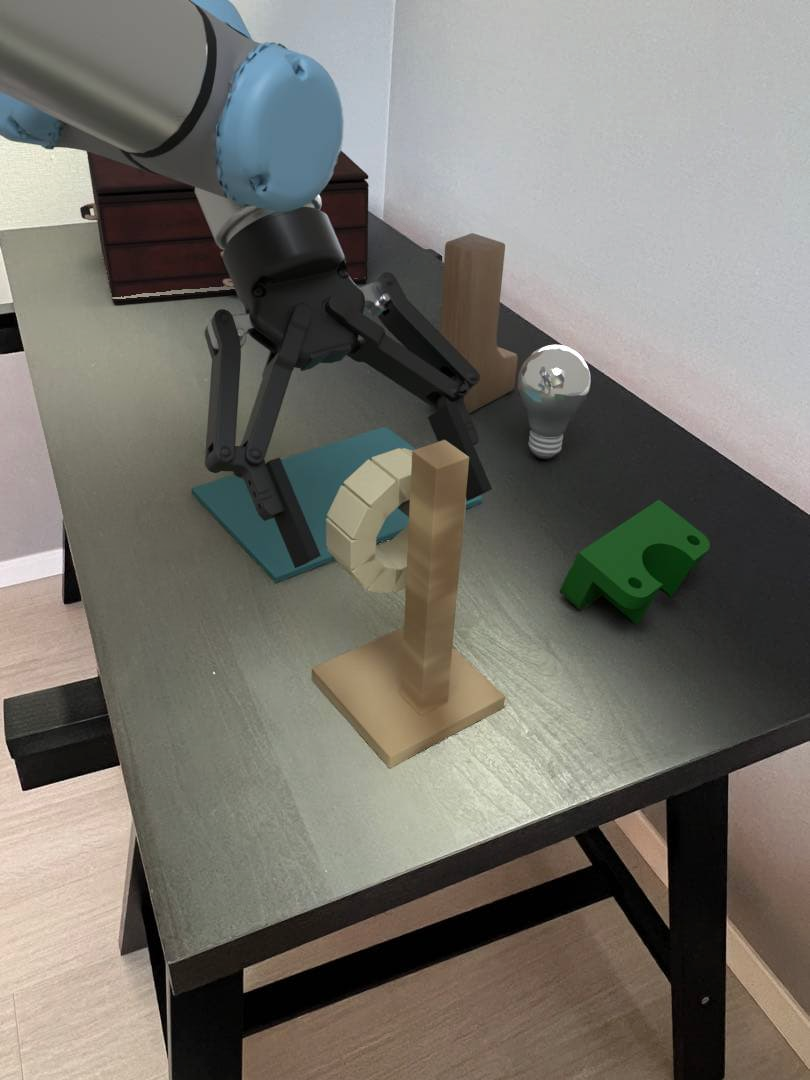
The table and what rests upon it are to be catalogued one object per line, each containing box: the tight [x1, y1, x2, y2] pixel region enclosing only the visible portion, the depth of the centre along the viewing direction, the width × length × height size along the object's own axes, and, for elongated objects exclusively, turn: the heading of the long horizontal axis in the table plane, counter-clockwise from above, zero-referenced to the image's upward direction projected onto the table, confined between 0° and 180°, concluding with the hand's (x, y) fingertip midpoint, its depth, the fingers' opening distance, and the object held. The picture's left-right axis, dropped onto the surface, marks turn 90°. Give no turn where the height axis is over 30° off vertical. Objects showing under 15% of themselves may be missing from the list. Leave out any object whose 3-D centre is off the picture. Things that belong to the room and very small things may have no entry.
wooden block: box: [439, 232, 519, 415], centre depth 101 cm, size 9×4×18 cm, turn 138°
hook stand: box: [311, 440, 506, 769], centre depth 62 cm, size 10×10×21 cm
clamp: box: [559, 499, 711, 625], centre depth 77 cm, size 12×6×9 cm, turn 129°
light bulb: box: [517, 344, 592, 461], centre depth 92 cm, size 7×7×12 cm
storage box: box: [79, 150, 370, 305], centre depth 130 cm, size 39×23×15 cm, turn 108°
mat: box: [190, 426, 483, 584], centre depth 88 cm, size 22×16×1 cm
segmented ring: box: [326, 448, 466, 595], centre depth 61 cm, size 9×3×9 cm, turn 126°
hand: (397, 527), depth 62 cm, fingers open, 13 cm apart
